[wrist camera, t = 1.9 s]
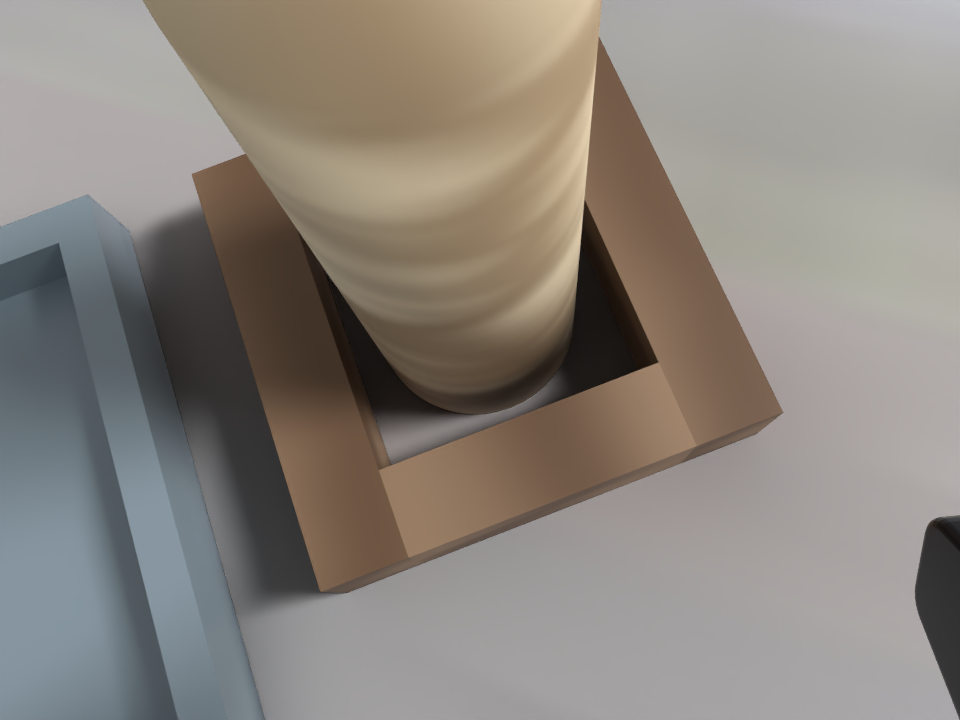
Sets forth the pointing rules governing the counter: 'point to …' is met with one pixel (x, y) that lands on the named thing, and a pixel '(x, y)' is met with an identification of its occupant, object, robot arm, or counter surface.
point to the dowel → (420, 166)
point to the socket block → (519, 441)
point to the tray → (101, 496)
